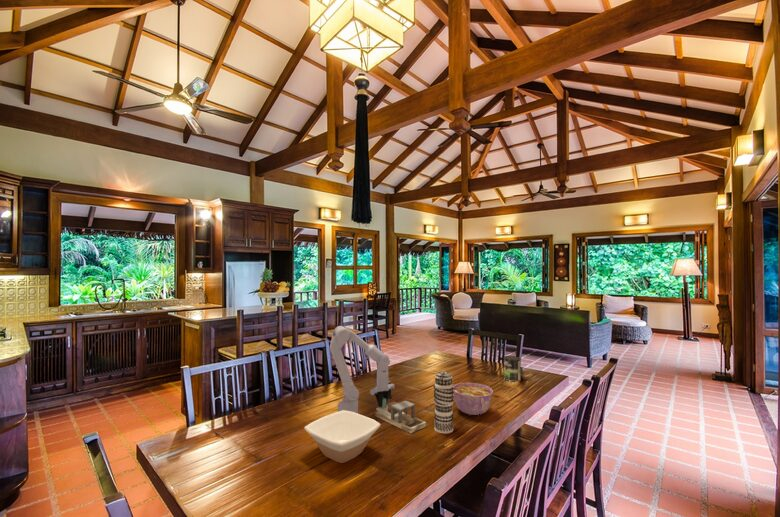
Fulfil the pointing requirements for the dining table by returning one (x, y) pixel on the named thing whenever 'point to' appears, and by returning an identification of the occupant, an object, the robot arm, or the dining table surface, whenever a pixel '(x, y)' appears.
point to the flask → (389, 389)
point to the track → (403, 417)
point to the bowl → (342, 434)
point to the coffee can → (512, 368)
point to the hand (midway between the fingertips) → (382, 405)
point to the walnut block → (390, 407)
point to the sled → (385, 409)
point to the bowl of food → (472, 398)
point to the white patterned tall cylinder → (443, 402)
